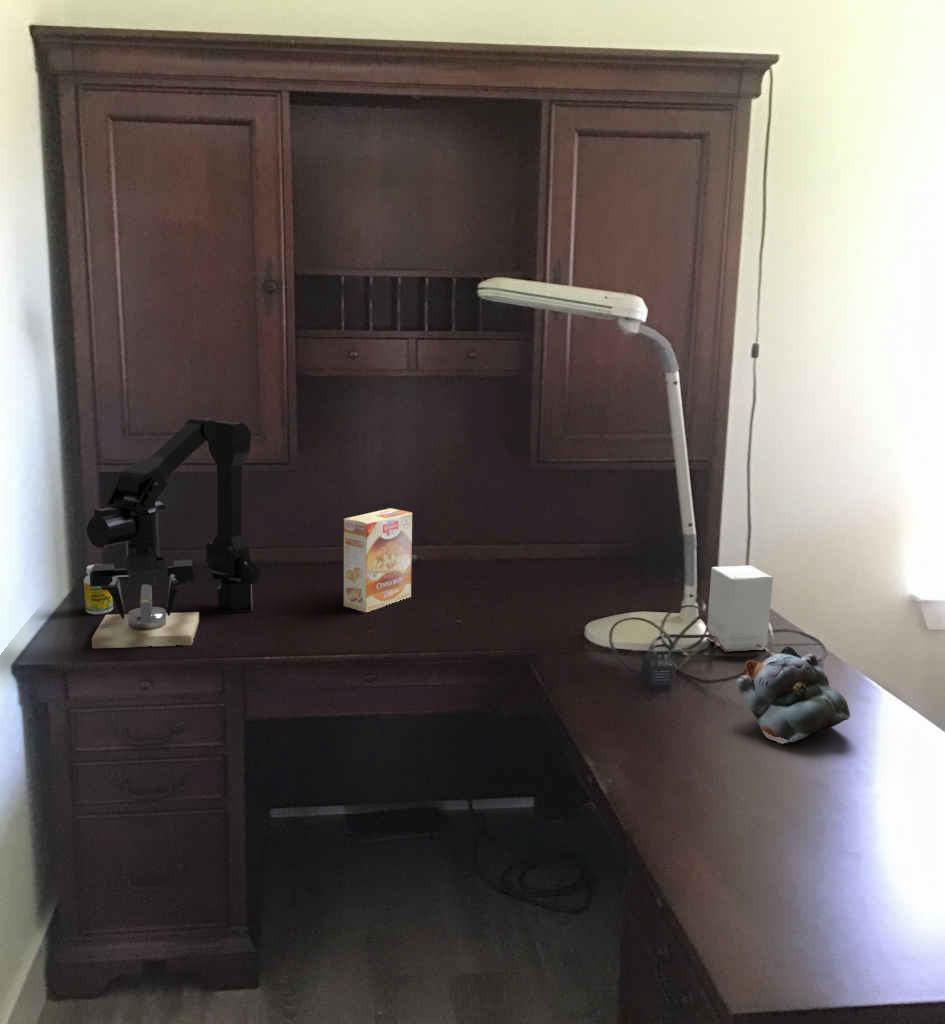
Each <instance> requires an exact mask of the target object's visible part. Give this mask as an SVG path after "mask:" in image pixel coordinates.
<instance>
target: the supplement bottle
mask: <svg viewBox="0 0 945 1024" xmlns="http://www.w3.org/2000/svg"><path fill="white" fill-rule="evenodd" d="M97 564H98V563H96V564H89V565H88V566H86V567H85V568H86V570H85V571H86V576H85V577H84V579H83V587H84V601H85V611H86V613H88V614H91V615H104V614H105V615H106V614H108V613H110V612H112V611H113V610H114V599H113V598H112V596H111V594H110V593H109V592H108V591H107V590H102V589H101V586H95V587H93V586H90V571H91V568H92V567H93V566H94V565H97Z"/></svg>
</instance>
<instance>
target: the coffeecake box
mask: <svg viewBox="0 0 945 1024" xmlns="http://www.w3.org/2000/svg"><path fill="white" fill-rule="evenodd" d="M412 543H413V512H411V511H407V510H401V509H397V508H393V507H392V508H391V507H390V508H385V509H381V510H377V511H372V512H368V513H365V514H360V515H355V516H350V517H346V518H343V607H346V608H350V609H353V610H357V611H358V612H362V613H366V612H367V613H369V612H372V610H373V611H376V610H378V609H381V608H383V607H386V605H387V606H389V604H390V605H392V603H393V604H395V602H396V603H399V602H401V601H403V599H404V600H407V599H410V598H412V553H413V552H412V550H413V549H412ZM409 597H410V598H409ZM406 598H407V599H406ZM400 600H401V601H400Z"/></svg>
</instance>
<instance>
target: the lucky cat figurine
mask: <svg viewBox="0 0 945 1024" xmlns="http://www.w3.org/2000/svg"><path fill="white" fill-rule="evenodd" d="M736 687H737V690H738V691H739V693H740V694H741V698H742V699H743V700H744V702H745V703H746V705H747V707H748V708H749V709H750V711H751V713H752V714H753V716H754V717H755V719H756V720H757V722H758V725H759V726H760V730H761V729H762V730H763V731H765V732H767V733H768V734H770V735H772V736H774V737H781V738H784V739H786V740H788V742H790V743H793V742H797V741H799V740H803V739H804V738H807V737H808V736H810V735H812V734H815V733H818V732H821V731H824V730H827V729H829V728H830V729H831V728H832V727H834V726H837V725H839V724H841V723H843V722H844V721H846V720H849V718H850V717H851V711H850V709H849V705H848V702H847V700H846V699H845V697H844V695H842V694H841V693H840V692H839V691H837V690H836V689H833V688H831V687H830V682H829V679H828V676H826V674H825V672H824V670H823V669H822V668H821V667H820V665H819V662H818V658H817V656H816V655H814V653H808V654H806V655H805V656H803V657H802V656H801V655H799V654H798V652H797V651H796V650H795V649H794V648H793V647H792V646H785V647H784V648H783V649H782V650H781V651H780V652H779V653H774V654H772V655H770V657H767V658H765V659H763V660H762V662H761V661H755V660H752V659H751V660H750V659H749V660H747V661H746V662H745V667H744V670H743V673H742V674H741V676H740V677H739V678H738V679H737V680H736Z"/></svg>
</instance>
